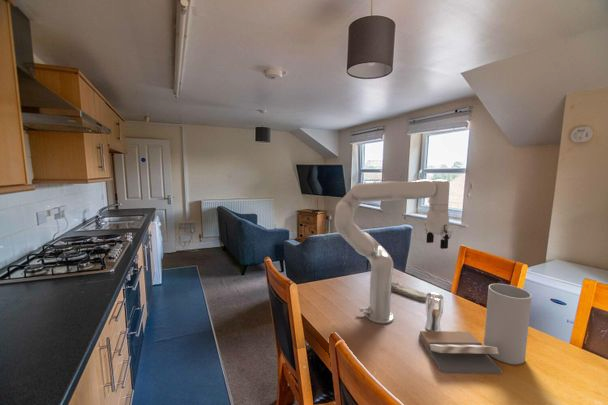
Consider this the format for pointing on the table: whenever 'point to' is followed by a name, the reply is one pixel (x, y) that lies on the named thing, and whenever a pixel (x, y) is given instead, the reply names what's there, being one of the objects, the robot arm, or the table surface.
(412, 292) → the long grey stone
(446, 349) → the loose plank
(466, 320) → the table surface
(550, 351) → the table surface
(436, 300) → the beer glass
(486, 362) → the grey flat piece
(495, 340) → the cylinder vase
